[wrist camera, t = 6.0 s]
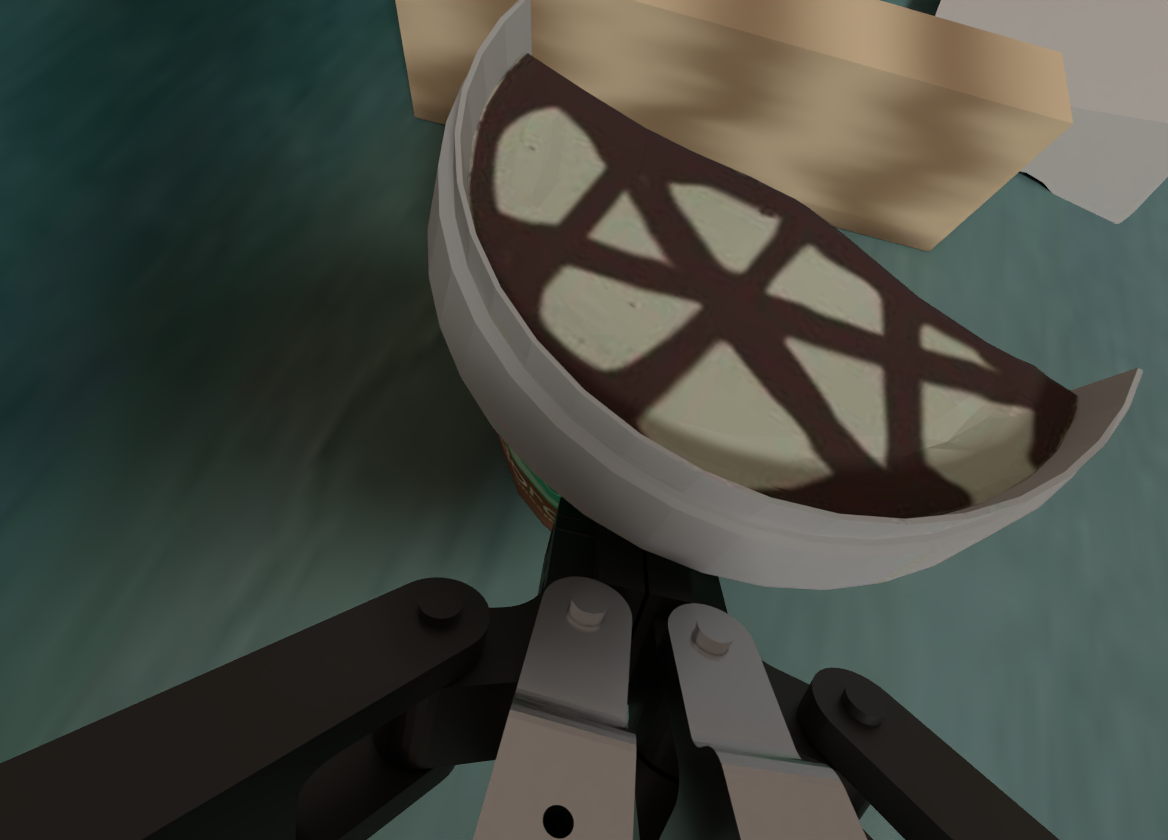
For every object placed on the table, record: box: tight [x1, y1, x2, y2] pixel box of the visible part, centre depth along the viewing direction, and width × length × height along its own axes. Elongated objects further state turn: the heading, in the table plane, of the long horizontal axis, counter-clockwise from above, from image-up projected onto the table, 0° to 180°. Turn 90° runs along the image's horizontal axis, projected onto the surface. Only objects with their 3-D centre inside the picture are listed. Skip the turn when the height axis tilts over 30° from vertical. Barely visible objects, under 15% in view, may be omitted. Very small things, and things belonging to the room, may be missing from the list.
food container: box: [428, 0, 1143, 590], centre depth 12 cm, size 12×6×10 cm, turn 56°
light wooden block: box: [395, 0, 1073, 252], centre depth 20 cm, size 20×5×6 cm, turn 79°
